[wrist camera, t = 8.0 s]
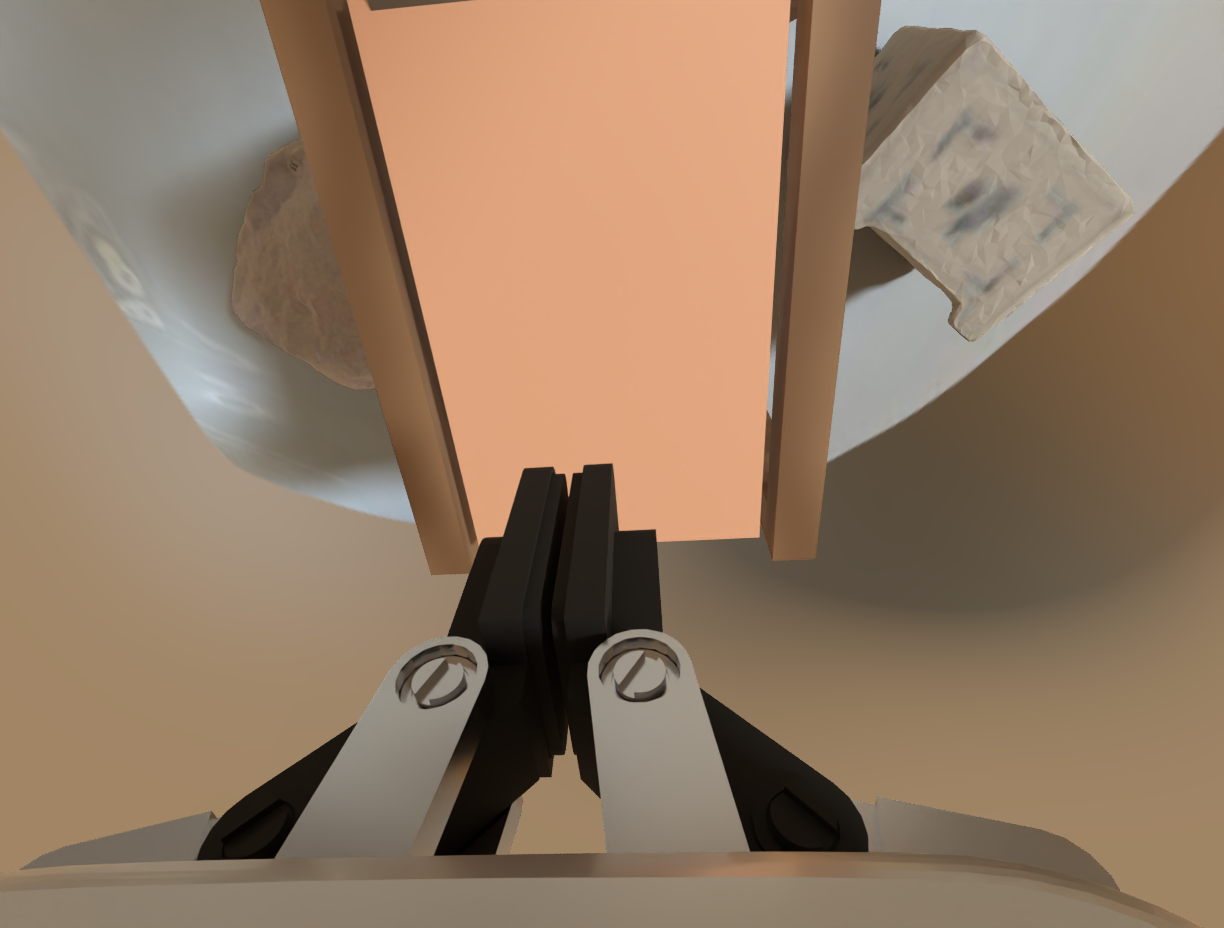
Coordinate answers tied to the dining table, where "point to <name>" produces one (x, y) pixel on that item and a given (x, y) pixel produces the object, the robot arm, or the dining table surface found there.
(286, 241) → the stone block
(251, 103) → the dining table surface
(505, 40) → the trapdoor
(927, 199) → the white speckled block
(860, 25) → the stand
